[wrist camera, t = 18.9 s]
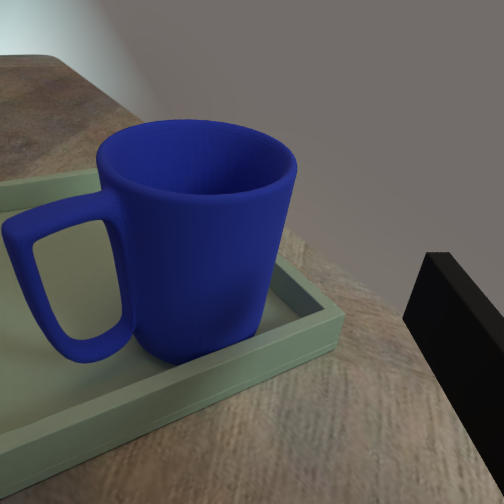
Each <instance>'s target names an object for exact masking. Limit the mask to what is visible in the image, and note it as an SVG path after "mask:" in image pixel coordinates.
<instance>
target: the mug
mask: <svg viewBox="0 0 504 504" xmlns="http://www.w3.org/2000/svg"><path fill="white" fill-rule="evenodd" d="M96 163H97V169H98V174H99V180H100V185H101V191H98V192H95V193H90V194H84V195H79V196H74V197H69V198H65V199H61V200H58V201H54V202H51V203H47V204H44V205H41V206H38V207H35V208H32V209H29V210H26V211H24V212H21V213H19V214H17V215H14V216H12V217H10V218H8V219H7V220H5V221H4V222H3V224H2V225H1V235H2V238H3V241H4V245H5V247H6V250H7V253H8V256H9V258H10V261H11V264H12V267H13V269H14V272H15V275H16V277H17V280H18V283H19V285H20V288H21V290H22V293H23V295H24V298H25V300H26V302H27V304H28V307H29V309H30V311H31V313H32V315H33V317H34V319H35V320H36V322H37V324H38V326H39V327H40V329H41V330H42V332H43V334H44V335H45V337H46V338H47V340H48V341H49V342H50V343H51V345H52V346H53V347H54V348H55V349H56V350H57V351H58V352H59V353H60V354H61V355H63V356H64V357H65V358H66V359H68V360H71V361H73V362H76V363H82V364H87V363H94V362H98V361H101V360H104V359H106V358H108V357H110V356H111V355H113V354H115V353H116V352H118V351H119V350H120V349H121V348H123V347H124V346H125V345H126V344H127V343H128V341H129V340H130V339H131V337H132V334H133V335H134V336H135V338H136V340H137V341H138V342H139V344H140V345H141V346H142V347H143V348H144V349H145V350H146V351H147V352H148V353H150V354H151V355H152V356H154V357H156V358H158V359H160V360H162V361H164V362H167V363H170V364H174V365H178V366H179V365H182V364H184V363H187V362H190V361H192V360H195V359H197V358H200V357H202V356H205V355H208V354H210V353H213V352H215V351H218V350H221V349H223V348H226V347H228V346H231V345H233V344H236V343H239V342H241V341H244V340H246V339H249V338H251V337H254V335H255V333H256V331H257V329H258V327H259V324H260V321H261V318H262V314H263V310H264V306H265V302H266V298H267V294H268V289H269V285H270V281H271V277H272V273H273V269H274V265H275V261H276V257H277V252H278V248H279V244H280V240H281V236H282V232H283V228H284V224H285V219H286V215H287V211H288V207H289V203H290V198H291V195H292V190H293V186H294V182H295V178H296V174H297V162H296V159H295V157H294V155H293V154H292V152H291V151H290V150H289V149H288V148H287V147H286V146H285V145H284V144H283V143H281V142H280V141H278V140H276V139H274V138H273V137H271V136H269V135H266V134H264V133H262V132H259V131H256V130H253V129H250V128H247V127H243V126H239V125H234V124H229V123H224V122H216V121H208V120H189V119H188V120H165V121H155V122H149V123H143V124H139V125H135V126H132V127H128V128H126V129H123V130H121V131H118V132H117V133H115V134H113V135H111V136H110V137H108V138H107V139H106V140H105V141H104V142H103V143H102V144H101V145H100V147H99V149H98V151H97V155H96ZM94 220H102V221H103V223H104V225H105V227H106V230H107V233H108V236H109V240H110V244H111V248H112V252H113V257H114V262H115V268H116V273H117V279H118V284H119V289H120V296H121V304H122V315H121V318H120V320H119V322H118V323H117V324H116V325H115V326H113V327H112V328H111V329H109V330H108V331H106V332H105V333H103V334H101V335H99V336H97V337H94V338H90V339H86V340H78V339H73V338H71V337H69V336H68V335H67V334H66V333H65V332H64V331H63V329H62V328H61V326H60V325H59V323H58V321H57V319H56V317H55V315H54V313H53V311H52V308H51V305H50V303H49V300H48V297H47V295H46V292H45V289H44V286H43V283H42V280H41V277H40V274H39V271H38V268H37V264H36V261H35V258H34V254H33V244H34V243H35V242H36V241H38V240H40V239H42V238H44V237H46V236H48V235H51V234H53V233H56V232H58V231H61V230H63V229H66V228H69V227H72V226H75V225H79V224H82V223H85V222H89V221H94Z"/></svg>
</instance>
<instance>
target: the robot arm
mask: <svg viewBox="0 0 504 504" xmlns="http://www.w3.org/2000/svg"><path fill="white" fill-rule="evenodd" d="M402 319H403V321H404V322H405V324H406V326H407V328H408V329H409V331H410V333H411V335H412V336H413V338H414V340H415V342H416V343H417V345H418V347H419V349H420V351H421V352H422V354H423V356H424V358H425V359H426V361H427V363H428V365H429V366H430V368H431V370H432V372H433V373H434V375H435V377H436V379H437V380H438V382H439V384H440V386H441V387H442V389H443V391H444V393H445V394H446V396H447V398H448V400H449V401H450V403H451V405H452V407H453V408H454V410H455V412H456V414H457V415H458V417H459V419H460V421H461V422H462V424H463V426H464V428H465V429H466V431H467V433H468V435H469V437H470V438H471V440H472V442H473V444H474V445H475V447H476V449H477V451H478V452H479V454H480V456H481V458H482V459H483V461H484V463H485V465H486V466H487V468H488V470H489V472H490V473H491V475H492V477H493V479H494V480H495V482H496V484H497V486H498V487H499V489H500V491H501V493H502V494H503V496H504V317H503V316H502V315H501V314H500V313H499V311H498V310H497V309H496V308H495V307H494V305H493V304H492V303H491V302H490V301H489V300H488V298H487V297H486V296H485V295H484V294H483V292H482V291H481V290H480V289H479V287H478V286H477V285H476V284H475V283H474V282H473V280H472V279H471V278H470V277H469V276H468V274H467V273H466V272H465V271H464V270H463V268H462V267H461V266H460V265H459V264H458V262H457V261H456V260H455V259H454V258H453V256H452V255H451V254H450V253H449V252H445V253H444V252H434V253H433V252H427V253H426V255H425V258H424V260H423V263H422V266H421V268H420V271H419V274H418V277H417V279H416V283H415V285H414V288H413V291H412V293H411V296H410V299H409V302H408V304H407V307H406V310H405V312H404V315H403V318H402Z"/></svg>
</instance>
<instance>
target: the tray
mask: <svg viewBox="0 0 504 504" xmlns="http://www.w3.org/2000/svg"><path fill="white" fill-rule="evenodd" d="M98 191H101V185H100V180H99V174H98V169H97V168H92V169H85V170H78V171H71V172H64V173H57V174H51V175H44V176H37V177H30V178H23V179H16V180H9V181H3V182H0V499H2V498H4V497H6V496H9V495H11V494H13V493H15V492H18V491H20V490H22V489H24V488H26V487H29V486H31V485H33V484H35V483H38V482H40V481H42V480H44V479H46V478H49V477H51V476H53V475H55V474H58V473H60V472H62V471H64V470H66V469H69V468H71V467H73V466H75V465H78V464H80V463H82V462H84V461H87V460H89V459H91V458H93V457H95V456H98V455H100V454H102V453H104V452H107V451H109V450H111V449H113V448H115V447H118V446H120V445H122V444H124V443H127V442H129V441H131V440H133V439H135V438H138V437H140V436H142V435H144V434H147V433H149V432H151V431H153V430H156V429H158V428H160V427H162V426H164V425H167V424H169V423H171V422H173V421H176V420H178V419H180V418H182V417H184V416H187V415H189V414H191V413H193V412H196V411H198V410H200V409H202V408H204V407H207V406H209V405H211V404H213V403H216V402H218V401H220V400H222V399H224V398H227V397H229V396H231V395H233V394H236V393H238V392H240V391H242V390H245V389H247V388H249V387H251V386H253V385H256V384H258V383H260V382H262V381H265V380H267V379H269V378H271V377H273V376H276V375H278V374H280V373H282V372H285V371H287V370H289V369H291V368H293V367H296V366H298V365H300V364H302V363H305V362H307V361H309V360H311V359H314V358H316V357H318V356H320V355H322V354H325V353H327V352H329V351H331V350H334V349H336V347H337V343H338V339H339V336H340V332H341V328H342V325H343V321H344V317H345V312H344V311H342V310H341V309H340V308H339V307H338V306H337V305H335V303H334V302H332V301H331V300H330V299H329V298H328V297H327V296H326V295H325V294H324V293H322V292H321V291H320V290H319V289H318V288H317V287H316V286H315V285H314V284H313V283H311V282H310V281H309V280H308V279H307V278H306V277H305V276H304V275H303V274H301V273H300V272H299V271H298V270H297V269H296V268H295V267H294V266H293V265H292V264H290V263H289V262H288V261H287V260H286V259H285V258H284V257H283V256H282V255H280V254H279V253H278V252H277V257H276V261H275V265H274V269H273V273H272V277H271V281H270V285H269V289H268V294H267V298H266V302H265V306H264V310H263V314H262V318H261V321H260V324H259V327H258V329H257V331H256V333H255V335H254V337H251V338H249V339H246V340H244V341H241V342H239V343H236V344H233V345H231V346H228V347H226V348H223V349H221V350H218V351H215V352H213V353H210V354H208V355H205V356H202V357H200V358H197V359H195V360H192V361H190V362H187V363H184V364H182V365H179V366H178V365H174V364H170V363H167V362H164V361H162V360H160V359H158V358H156V357H154V356H152V355H151V354H150V353H148V352H147V351H146V350H145V349H144V348H143V347H142V346H141V345H140V344H139V342H138V341H137V340H136V338H135V336H134V335H133V334H132V337H131V339H130V340H129V341H128V343H127V344H126V345H125V346H124V347H123V348H121V349H120V350H119V351H118V352H116V353H115V354H113V355H111V356H110V357H108V358H106V359H104V360H101V361H98V362H94V363H87V364H82V363H76V362H73V361H71V360H68V359H66V358H65V357H64V356H63V355H61V354H60V353H59V352H58V351H57V350H56V349H55V348H54V347H53V346H52V345H51V343H50V342H49V341H48V340H47V338H46V337H45V335H44V334H43V332H42V330H41V329H40V327H39V326H38V324H37V322H36V320H35V319H34V317H33V315H32V313H31V311H30V309H29V307H28V304H27V302H26V300H25V298H24V295H23V293H22V290H21V288H20V285H19V283H18V280H17V277H16V275H15V272H14V269H13V267H12V264H11V261H10V258H9V256H8V253H7V250H6V247H5V245H4V241H3V238H2V235H1V225H2V224H3V222H4V221H5V220H7V219H8V218H10V217H12V216H14V215H17V214H19V213H21V212H24V211H26V210H29V209H32V208H35V207H38V206H41V205H44V204H47V203H51V202H54V201H58V200H61V199H65V198H69V197H74V196H79V195H84V194H90V193H95V192H98ZM33 254H34V258H35V261H36V264H37V268H38V271H39V274H40V277H41V280H42V283H43V286H44V289H45V292H46V295H47V297H48V300H49V303H50V305H51V308H52V311H53V313H54V315H55V317H56V319H57V321H58V323H59V325H60V326H61V328H62V329H63V331H64V332H65V333H66V334H67V335H68V336H69V337H71V338H73V339H78V340H86V339H90V338H94V337H97V336H99V335H101V334H103V333H105V332H106V331H108V330H109V329H111V328H112V327H113V326H115V325H116V324H117V323H118V322H119V320H120V318H121V315H122V304H121V296H120V289H119V284H118V279H117V273H116V268H115V262H114V257H113V252H112V248H111V244H110V240H109V236H108V233H107V230H106V227H105V225H104V223H103V221H102V220H94V221H89V222H85V223H82V224H79V225H75V226H72V227H69V228H66V229H63V230H61V231H58V232H56V233H53V234H51V235H48V236H46V237H44V238H42V239H40V240H38V241H36V242H35V243H34V244H33Z"/></svg>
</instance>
